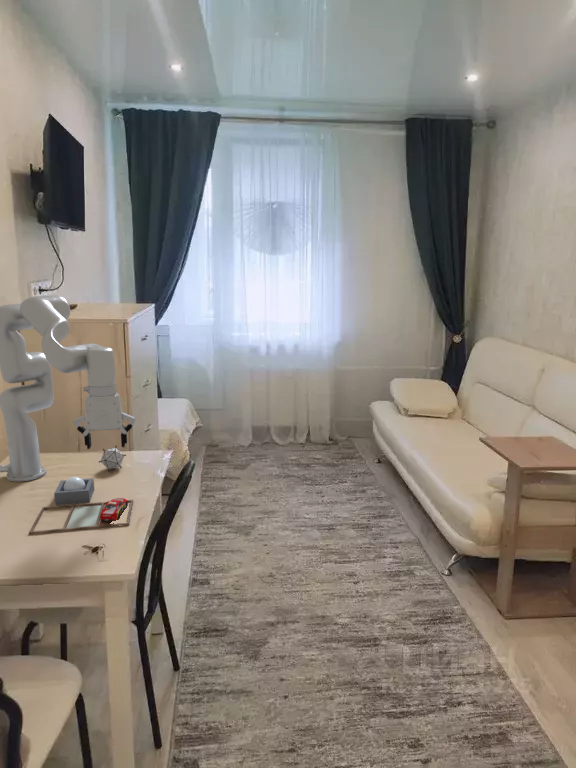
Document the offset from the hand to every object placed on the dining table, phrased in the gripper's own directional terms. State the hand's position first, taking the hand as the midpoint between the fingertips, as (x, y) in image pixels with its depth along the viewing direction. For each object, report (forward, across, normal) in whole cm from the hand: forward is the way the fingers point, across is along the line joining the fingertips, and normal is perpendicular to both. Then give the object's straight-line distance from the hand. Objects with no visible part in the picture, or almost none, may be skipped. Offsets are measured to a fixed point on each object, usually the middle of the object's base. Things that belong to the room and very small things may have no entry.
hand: (106, 446), depth 161 cm
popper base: (+20, -12, +10) cm, 25 cm away
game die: (+20, -3, +33) cm, 39 cm away
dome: (+20, -12, +10) cm, 25 cm away
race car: (+19, +2, -5) cm, 20 cm away
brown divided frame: (+19, -7, -5) cm, 21 cm away
